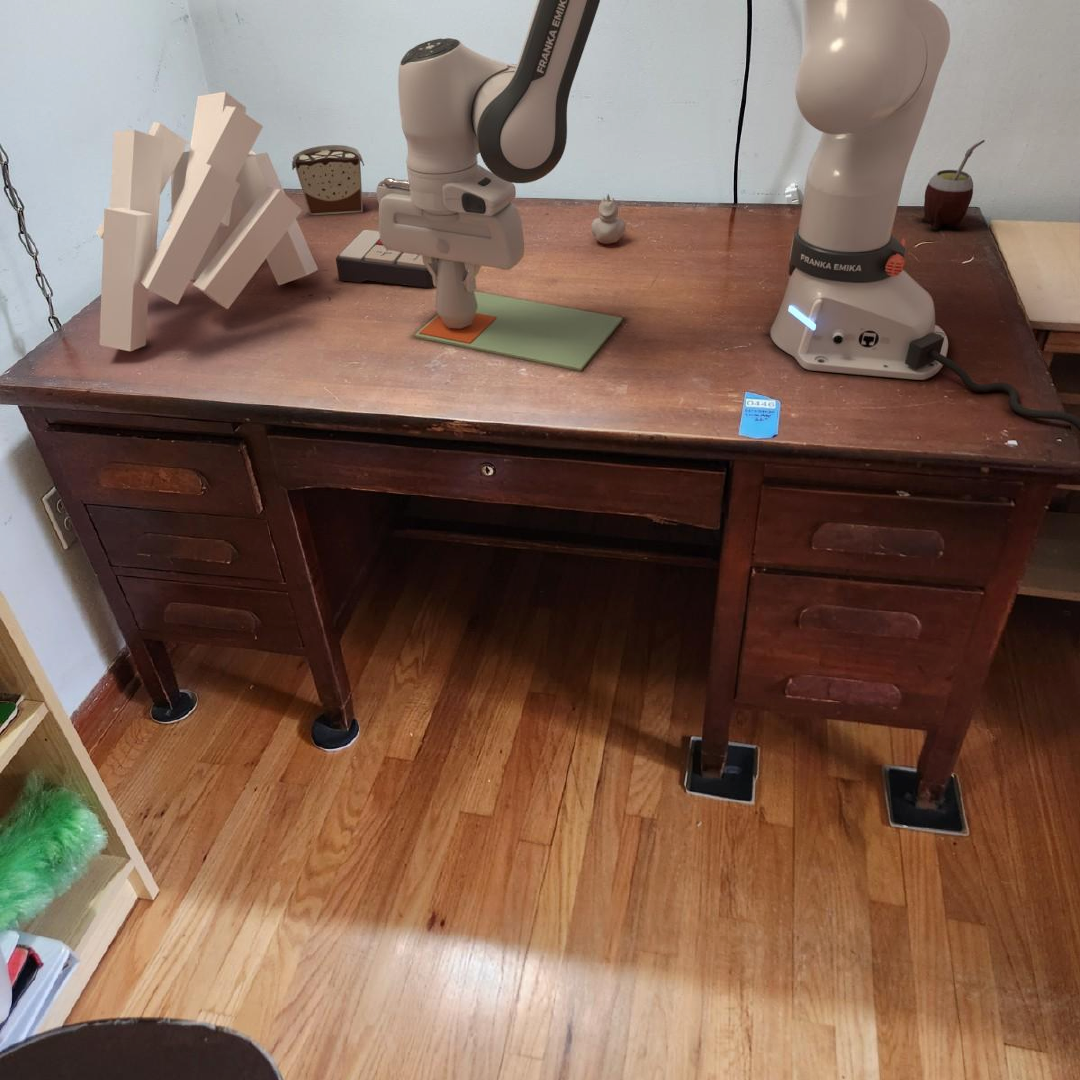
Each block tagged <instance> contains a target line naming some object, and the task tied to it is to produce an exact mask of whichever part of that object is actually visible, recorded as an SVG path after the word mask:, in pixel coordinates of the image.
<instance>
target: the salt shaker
mask: <svg viewBox="0 0 1080 1080" xmlns="http://www.w3.org/2000/svg"><path fill="white" fill-rule="evenodd" d="M436 246H437V250H438V251H439V252H440V253H445V254H447V253H448V252H449V244H448V242H447V241H446V240H442V239H438V240H437V243H436ZM468 272H469V270H466V269H465V263H464V262H458V261H452V260H446V259H440V258H439V259H438V274H437V287H436V289H435V290H436V291H435V304H434V305H435V306H434V307H435V311H436V313H437V315H439V316H440V318H441V319H442V321H443V323H444V324H445V325H446V326H447V327H448V328H458V329H462V328H464V327H466V326H469V325H471V324H472V321H473V318H474V315H475V313H476V311H477V308H478V304H477V301H476V297H475V294H474V291H475V290H474V291H473V292H472V293H469V292H466V291H465V289H464V286H463V282H462V280H464V279H466V277H467V275H468Z"/></svg>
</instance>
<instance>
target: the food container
mask: <svg viewBox="0 0 1080 1080" xmlns="http://www.w3.org/2000/svg"><path fill="white" fill-rule="evenodd" d="M361 164H362V166H363V167H364V166H365V162H364V160H363V157H362V154H361V153H360V151H359V150H358V149H357V148H355V147H353V146H349V145H343V144H327V145H319V146H314V147H309V148H305V149H303V150H301V151H299V152H297V153H295V154H294V156H293V157H292V161H291V171H294V170H295V171H296V175H297V177H298V181H299V184H300V187H301V191H302V194H303V196H304V200H305V203H306V206H307V209H308V213H309V216H321V215H322V216H323V215H337V214H339V215H340V214H355V213H358V214H359V213H364V205H363V192H362V191H363V189H362V188H363V186H362V171H361V169H362V168H361Z"/></svg>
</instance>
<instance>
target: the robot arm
mask: <svg viewBox="0 0 1080 1080" xmlns="http://www.w3.org/2000/svg"><path fill="white" fill-rule="evenodd" d="M600 2H601V0H536V4H535V7H534V10H533V13H532V16H531V19H530V23H529V26H528V29H527V32H526V35H525V39H524V42H523V45H522V48H521V51H520V54H519V58H518V61H517V64H515V63H509V62H504V61H500V60H496V59H492V58H490V57H487V56H485V55H482V54H480V53H478V52H476V51H474V50H473V49H471V48H469V47H468V46H466V45H465V44H463V42H461V41H460V40H458V39H456V38H450V37H447V38H435V39H431V40H427V41H425V42H422V43H420V44H417V45H415V46H414V47H413V48H410V49H409V50H408V51H406V53H405V54H404V56H403V57H402V58H401V60H400V62H399V66H398V71H397V72H398V74H397V75H398V76H397V92H398V94H397V95H398V108H399V116H400V124H401V130H402V133H403V135H404V137H405V140H406V141H405V142H406V146H407V147H406V148H407V151H406V159H405V163H406V172H407V179H396V178H393V177H385V178H384V179H383V180H381V181H380V182H378V184H377V187H376V190H375V191H376V197H377V204H378V231H379V233H380V241H381V243H382V244H383V245H384V247H385V248H386V249H387V250H392V251H398V252H404V253H410V254H416V255H422V258H423V263H424V265H425V266H426V268H427V269H428V271H429V272H430V274H431V275H432V278H433V284H432V285H433V287H436V288H437V274H438V261H437V259H438V258H440V259H446V260H452V261H458V262H464V263H465V269H466V270H468V275H467V277H466V279H464V280H462V282H463V286H464V289H465V291H466V292H469V293H472V292H473V291H476V289H477V281H476V277H477V275H478V273H479V271H480V270H481V267H482V266H483V267H488V268H494V269H499V270H505V271H510V270H511V269H513V268H514V267H515V266H517V265H518V264H519V263H520V262H521V261H522V259H523V258H524V256H525V238H524V230H523V224H522V217H521V214H520V212H519V209H518V208H517V206H516V205H515V204H514V203H512V202H513V201H514V199H515V198H516V195H517V191H516V185H515V184H528V183H532V182H536V181H539V180H540V179H542V178H544V177H546V176H547V175H548V174H550V173H551V172H552V171H553V170H554V169H555V168H556V167H557V165H558V164H559V163H560V162H561V159H562V157H563V155H564V153H565V150H566V146H567V138H568V104H569V99H570V98H569V97H570V92H571V89H572V86H573V83H574V80H575V77H576V74H577V71H578V68H579V65H580V62H581V59H582V56H583V53H584V50H585V47H586V45H587V41H588V38H589V35H590V33H591V30H592V27H593V23H594V21H595V18H596V14H597V11H598V9H599V5H600ZM800 2H801V3H800V4H801V5H800V6H801V8H800V9H801V57H800V62H799V67H798V70H797V73H796V76H795V83H794V92H795V93H794V95H795V101H796V104H797V107H798V109H799V112H800V113H801V115H802V117H803V118H804V120H805V121H806V122H807V123H808V124H809V125H810V126H811V127H813V128H814V129H816V130H818V131H820V132H822V133H821V136H820V139H819V141H818V145H817V147H816V149H815V152H814V153H813V156H812V158H811V159H810V161H809V164H808V167H807V173H806V177H805V185H804V192H803V199H802V204H801V210H800V217H799V223H798V224H799V225H798V226H797V229H796V230H795V232H794V234H793V238H792V240H791V247H790V251H789V258H788V259H789V260H788V266H789V267H788V276H789V277H788V281H787V284H786V288H785V292H784V295H783V297H782V298H783V299H782V302H781V304H780V307H779V309H778V313H777V315H776V317H775V319H774V321H773V323H772V325H771V327H770V330H769V331H770V332H769V335H770V338H771V340H772V342H773V343H774V344H775V345H776V346H777V347H778V348H779V349H781V350H782V351H784V352H785V353H787V354H788V355H790V356H792V357H793V358H794V359H795V360H796V362H797V363H798V365H800V367H802V368H803V369H805V370H807V371H815V372H825V373H835V374H837V373H838V374H848V375H859V376H870V377H881V378H893V379H904V380H916V381H924V380H927V379H929V378H932V377H934V376H935V375H936V374H938V373H939V372H940V370H941V369H942V368H943V366H944V367H946V368H948V369H949V370H950V371H952V372H953V373H954V374H955V375H957V377H958V378H959V379H960V380H961V382H962V383H963V384H964V385H965V387H967V388H968V389H969V390H971V391H973V392H977V393H991V392H997V391H1003V392H1005V393H1007V394H1008V395H1009V397H1008V405H1009V407H1010V409H1011V410H1012V411H1013V412H1014V413H1015V414H1018V415H1020V416H1024V417H1026V418H1031V419H1043V420H1057V421H1063V422H1067V423H1070V424H1071V425H1073V426H1074V427H1075V428H1076V429H1077V430H1078V431H1079V432H1080V418H1079V417H1078V416H1077V415H1074V414H1071V413H1070V412H1065V411H1058V410H1040V409H1032V408H1028V407H1025V406H1022V404H1019V392H1018V390H1017V388H1016V387H1014V386H1013V385H1011V384H1010V383H1006V382H993V383H987V384H979V383H977V382H975V381H973V379H972V378H971V377H970V375H969V374H968V373H967V372H966V370H965V369H964V368H962V367H961V366H960V365H959V364H957V363H956V362H955V361H953V360H951V359H950V358H949V357H947V355H948V349H949V340H948V336H947V334H946V333H945V331H944V330H943V329H942V328H941V327H940V326H939V325H937V324H936V310H935V303H934V300H933V297H932V296H931V294H930V293H929V292H928V291H927V290H926V289H925V288H923V286H921V285H920V284H919V283H918V282H917V280H915V279H913V277H912V276H910V275H909V274H908V272H907V271H905V270H904V267H905V263H906V261H905V255H906V247H905V246H906V240H905V238H904V237H903V238H902V239H901V242H900V241H899V240H898V239H897V238H896V237H895V236H894V235H893V234H892V232H893V228H894V224H895V219H896V213H897V212H898V211H897V209H898V206H899V201H900V196H901V192H902V189H903V183H904V181H905V176H906V172H907V169H908V166H909V163H910V160H911V157H912V154H913V152H914V149H915V146H916V144H917V141H918V138H919V135H920V133H921V129H922V127H923V124H924V121H925V118H926V115H927V112H928V110H929V106H930V103H931V100H932V97H933V93H934V91H935V87H936V84H937V81H938V78H939V74H940V72H941V69H942V67H943V64H944V62H945V59H946V57H947V54H948V52H949V47H950V42H951V30H950V25H949V24H950V23H949V21H948V19H947V16H946V14H945V13H944V12H943V10H942V9H941V8H940V7H939V6H938V5H937V4H936V3H934V2H933V1H931V0H800ZM478 155H480V156H481V160H482V161H483V163H484V165H485V166H486V168H485V167H483V166H482V165H480V164H479V163H478V162H479V161H478ZM438 239H442V240H446V241H447V242H448V244H449V252H448V253H447V254H445V253H440V252H439V251H438V250H437V246H436V243H437V240H438Z"/></svg>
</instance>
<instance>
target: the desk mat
mask: <svg viewBox="0 0 1080 1080" xmlns="http://www.w3.org/2000/svg"><path fill="white" fill-rule="evenodd" d="M474 294H475V297H476V301H477V304H478V308H477V311H476V313H475V315H474V318H473V321H472V324H471V325H469V326H466V327H464V328H462V329H458V328H448V327H447V326H446V325H445V324H444V323H443V321H442V319H441V318H440V316H439V315H438V314H436V315H435V316H434V317H433V318H432V319H431V320H429V321H428V322H427V323H426V324H425V325H424V326H423V327H421V328H420V329H419V330H418V331H417V332H416V333H415V334H414V338H416V339H420V340H427V341H430V342H436V343H440V344H447V345H451V346H455V347H461V348H465V349H471V350H476V351H480V352H484V353H490V354H495V355H500V356H505V357H510V358H513V359H514V358H515V359H520V360H524V361H529V362H534V363H539V364H545V365H549V366H554V367H558V368H559V367H560V368H564V369H568V370H573V371H579V372H582V370H584V368H585V367H586V365H587V364H588V363H589V362H590V361H591V359H592V358H593V357H594V356H595V354H596V353H597V352H598V351H599V350H600V348H601V347H603V345H604V343H605V342H606V341H607V340H608V339H609V337H610V336H611V335H612V333H613V332H614V331H615V330H616V329H617V328H618V326H619V325H620V324H621V322H622V321H623V317H621V316H617V315H616V316H615V315H610V314H604V313H599V312H592V311H587V310H581V309H577V308H571V307H564V306H561V305H560V306H559V305H554V304H548V303H544V302H543V303H542V302H537V301H531V300H527V299H521V298H520V299H519V298H514V297H509V296H503V295H498V294H493V293H486V292H481V291H477V290H474Z"/></svg>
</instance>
